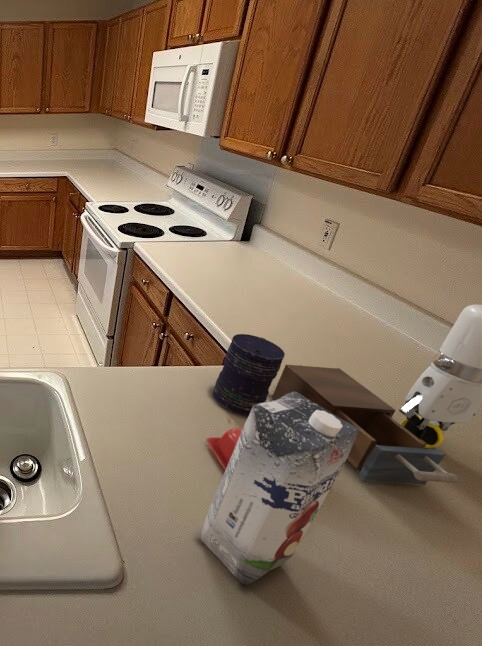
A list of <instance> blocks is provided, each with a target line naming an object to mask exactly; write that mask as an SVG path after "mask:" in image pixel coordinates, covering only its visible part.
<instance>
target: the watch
mask: <svg viewBox="0 0 482 646" xmlns="http://www.w3.org/2000/svg"><path fill="white" fill-rule="evenodd" d="M417 416H418V415H417ZM418 417H419V418H420V420H421V419H422V417H421V416H420V415H419V416H418ZM407 421H408V420H407V419H406V418H405V419H403V420H402V422H401V424H400V425H402V426H403V427H404V426H405V424H406V423H407ZM427 426H429V427H432V428H434V430H435V431H436V432H437V435H438V441H437V442H436V444H434V445H428V444H426V445H425V447H424V449H434V448H436V447H438V446H441V445H442V443H443V442H444V440H445V435H444V431H442V430H441V429H440V427H439V423H438V422H437V421H429V423H428V424H427Z"/></svg>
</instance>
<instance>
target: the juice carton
mask: <svg viewBox="0 0 482 646" xmlns="http://www.w3.org/2000/svg"><path fill="white" fill-rule="evenodd" d="M242 428H243V430H242V432H241V434H240V437H239V439H238V441H237V444H236V446H235V449H234V451H233V453H232V456H231V458H230V461H229V463H228V465H227V468H226V470H224V473H223V475H222V477H221V480H220V482H219V485H218V487H217V489H216V491H215V495H214V497H213V499H212V501H211V504H210V506H209V508H208V511H207V513H206V516H205V520H204V524H203V527H202V531H201V534H200V539H201V541H202V542H203V544H204V546H206V547H207V548H208V549H209V550H210V551H211V552H212V554H213V555H214V556H216V558H217V559H218V560H219V561H220V562H221V563H222V564H223V565H224V566H225V567H226V568H227V570H228V571H229V572H230V573H231V574H232V575H233V577H235V578H236V580H237V581H238V582H239V583H240V584H241V585H243V586H249V585H251V584H253V583H254V582H256V581H257V580H259V579H260V578H262V577H263V576H264V575H265V574H267V573H268V572H271V571H273V570H274V569H277V568H279V567H280V566H281V565H284V563H286V562H287V561H289V560H290V559H291V558H292V557H293V556H294V554H295V552H296V551H297V549H298V548H299V546H300V544H301V543H302V540H303V539H304V537H305V535H306V534H307V532H308V530H309V528H310V527H311V524H312V523H313V521H314V519H315V518H316V516H317V514H318V513H319V511H320V509H321V507H322V505H323V504H324V501H325V500H326V498H327V496H328V494H329V493H330V492H331V491H330V490H331V489H332V487H333V485H334V484H335V481H336V480H337V478H338V476H339V475H340V473H341V471H342V469H343V467H344V465H345V463H346V462H347V457H348V455H349V453H350V450H351V448H352V446H353V443H354V441H355V439H356V437H357V434H358V432H359V429H357V428H356V427H355V426H353V425H351V424H349V423H348V422H346V421H344V420H342V419H341V418H339V417H337V416H336V415H334V414H332V413H331V412H329V411H327V410H326V409H324V408H322V407H321V406H319V405H317V404H315V403H314V402H312V401H310V400H309V399H307V398H305V397H304V396H302V395H301V394H299V393H297V392H295V391H293V392H290V393H288V394H287V395H285V396H283V397H282V398H280V399H278V400H275V399H274V400H270V401H266V402H263V403H258V404H255V405H253V407H252V410H251V412H250V414H249V417H248V416H247V419H246V421H245V423H244V425H243V427H242Z"/></svg>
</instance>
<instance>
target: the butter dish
mask: <svg viewBox="0 0 482 646" xmlns="http://www.w3.org/2000/svg"><path fill="white" fill-rule="evenodd" d="M242 430H243V427H239V428H238V427H236V428H230V429H228V430H226V431H225V432H224V433H223V435H222V436H221V437H219V436H218V437H217V436H215V437H207V438H206V440H205V441H206V443H207V444H208V446H209V448H210V449H211V451H212V453H213V454H214V457H216V459H217V460H218V462H219V463H220V465H221V466H222V469H223V470H224V471H225V470H226V468H227V465H228V463H229V461H230V458H231V456H232V453H233V451H234V449H235V446H236V444H237V441H238V439H239V437H240V434H241V432H242Z"/></svg>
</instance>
